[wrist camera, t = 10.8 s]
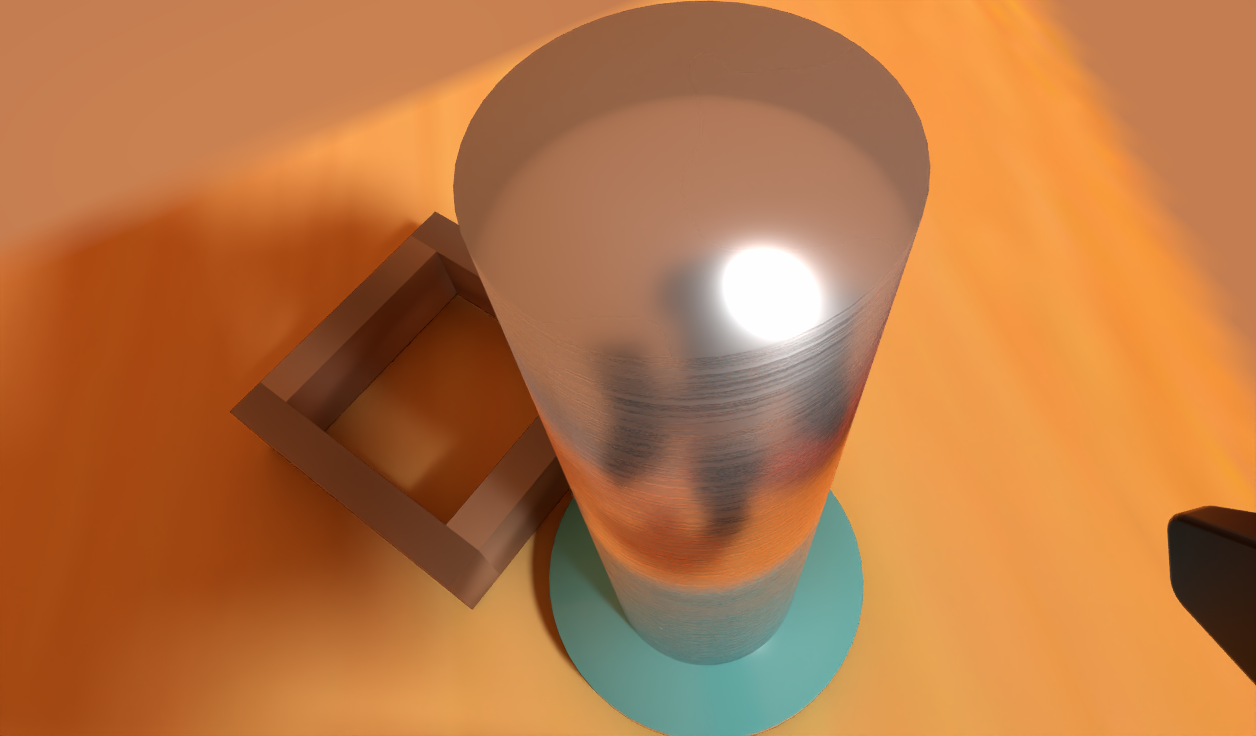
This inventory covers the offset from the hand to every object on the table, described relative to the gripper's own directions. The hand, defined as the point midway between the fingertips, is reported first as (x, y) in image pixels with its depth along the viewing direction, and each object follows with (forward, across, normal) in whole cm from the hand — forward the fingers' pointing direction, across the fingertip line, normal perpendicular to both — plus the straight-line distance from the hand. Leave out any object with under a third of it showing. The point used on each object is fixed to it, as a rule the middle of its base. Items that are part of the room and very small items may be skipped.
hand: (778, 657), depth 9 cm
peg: (+9, 0, +4) cm, 10 cm away
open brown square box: (+14, +5, 0) cm, 14 cm away
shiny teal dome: (+9, 0, +4) cm, 10 cm away
